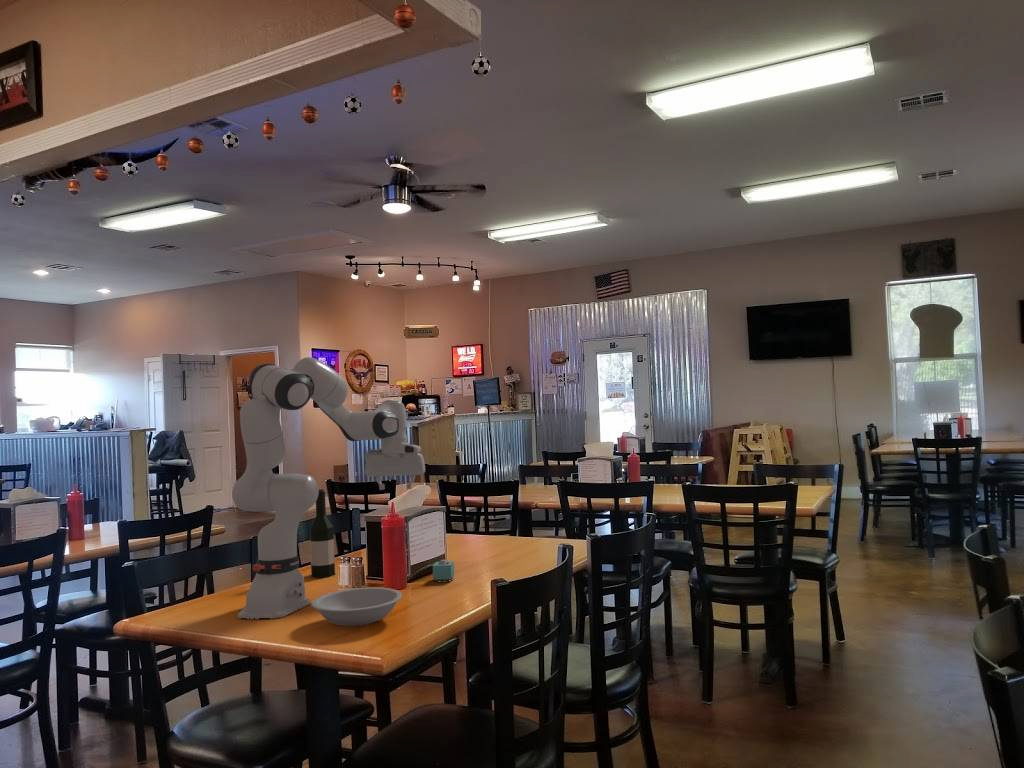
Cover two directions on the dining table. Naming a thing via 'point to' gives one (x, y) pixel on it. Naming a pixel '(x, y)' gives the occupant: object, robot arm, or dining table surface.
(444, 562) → the post stand
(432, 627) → the dining table surface
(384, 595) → the soup bowl
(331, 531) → the wine bottle
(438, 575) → the teal block
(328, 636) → the dining table surface
